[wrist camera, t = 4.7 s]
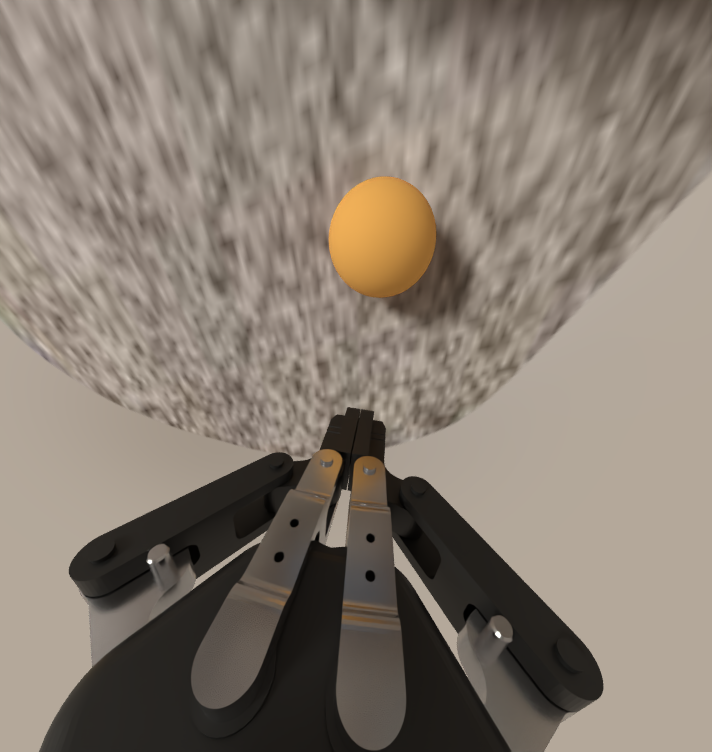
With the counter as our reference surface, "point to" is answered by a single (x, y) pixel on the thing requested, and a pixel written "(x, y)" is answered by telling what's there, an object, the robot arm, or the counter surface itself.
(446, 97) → the counter surface
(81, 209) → the counter surface
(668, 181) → the counter surface
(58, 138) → the counter surface
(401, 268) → the ball
